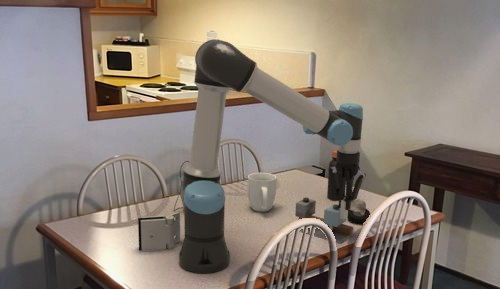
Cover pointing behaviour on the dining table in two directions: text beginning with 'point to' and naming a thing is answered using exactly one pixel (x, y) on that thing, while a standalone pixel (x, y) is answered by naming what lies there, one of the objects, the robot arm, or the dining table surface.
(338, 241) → the bolt plate
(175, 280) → the dining table surface
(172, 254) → the dining table surface
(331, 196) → the bottle
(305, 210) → the trammel beam
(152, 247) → the hinge
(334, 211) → the block
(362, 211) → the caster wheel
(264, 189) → the mug
